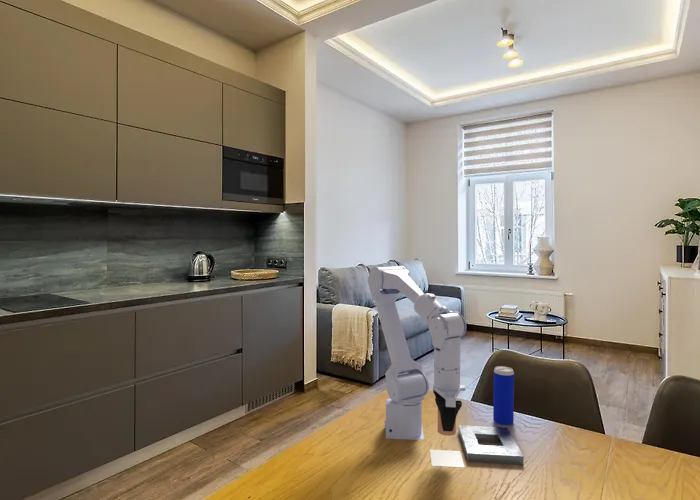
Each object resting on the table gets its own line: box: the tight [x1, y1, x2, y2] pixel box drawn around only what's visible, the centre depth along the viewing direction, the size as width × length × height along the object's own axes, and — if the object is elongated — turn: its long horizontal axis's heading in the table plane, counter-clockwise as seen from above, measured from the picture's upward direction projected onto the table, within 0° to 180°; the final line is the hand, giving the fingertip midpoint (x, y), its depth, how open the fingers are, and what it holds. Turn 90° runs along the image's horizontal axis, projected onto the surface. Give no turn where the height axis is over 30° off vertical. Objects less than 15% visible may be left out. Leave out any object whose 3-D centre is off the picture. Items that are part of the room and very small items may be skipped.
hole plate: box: [458, 424, 525, 466], centre depth 100 cm, size 12×14×3 cm
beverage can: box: [492, 365, 515, 427], centre depth 114 cm, size 5×5×15 cm
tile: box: [429, 448, 465, 469], centre depth 95 cm, size 7×7×1 cm
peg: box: [437, 408, 457, 437], centre depth 95 cm, size 4×4×6 cm
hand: (446, 425), depth 95 cm, fingers closed on peg, 4 cm apart
